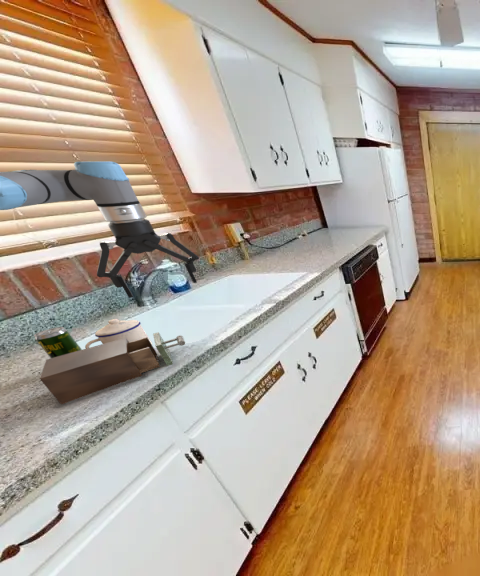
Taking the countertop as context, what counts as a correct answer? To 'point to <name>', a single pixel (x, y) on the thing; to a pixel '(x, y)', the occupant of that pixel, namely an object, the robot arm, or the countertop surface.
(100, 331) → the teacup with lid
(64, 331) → the green soda can
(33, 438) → the countertop surface
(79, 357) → the cabinet
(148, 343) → the drawer
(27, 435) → the countertop surface
